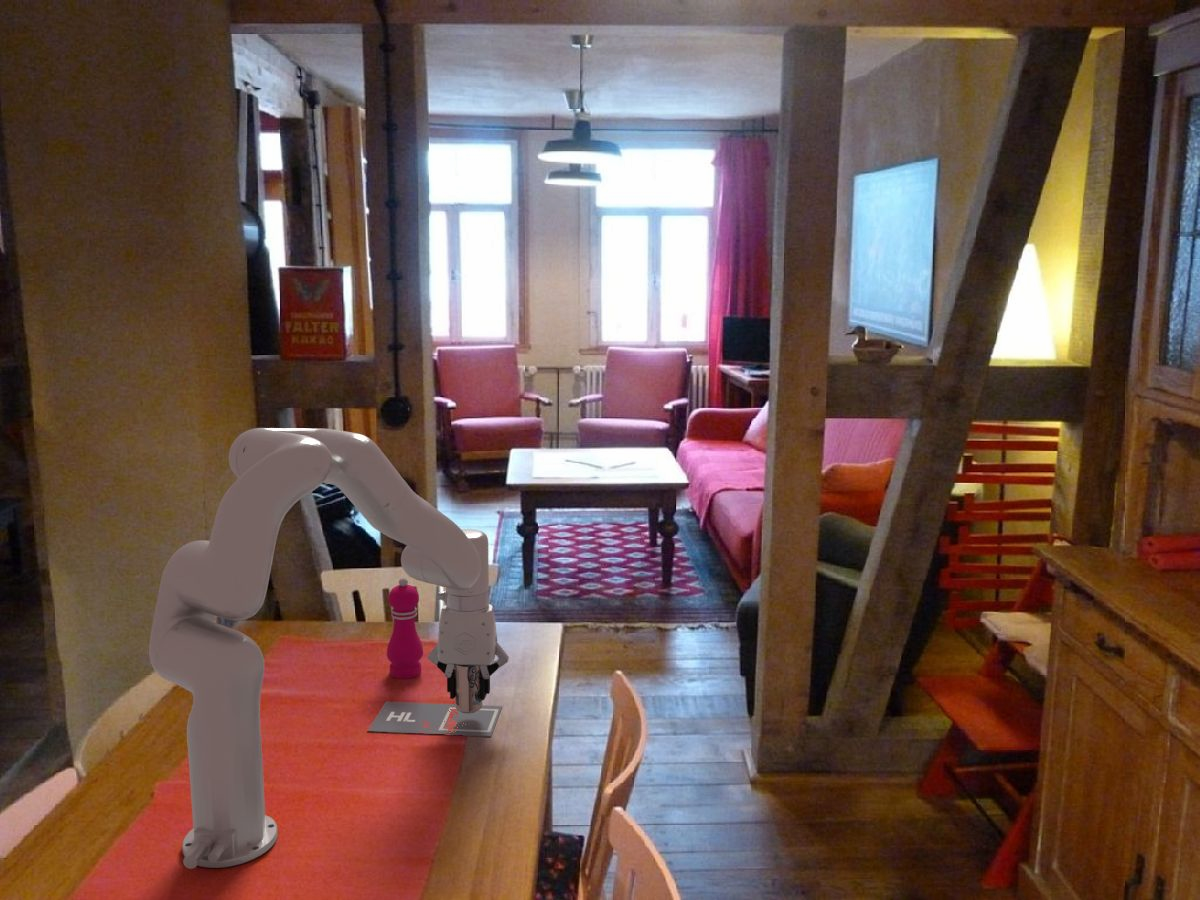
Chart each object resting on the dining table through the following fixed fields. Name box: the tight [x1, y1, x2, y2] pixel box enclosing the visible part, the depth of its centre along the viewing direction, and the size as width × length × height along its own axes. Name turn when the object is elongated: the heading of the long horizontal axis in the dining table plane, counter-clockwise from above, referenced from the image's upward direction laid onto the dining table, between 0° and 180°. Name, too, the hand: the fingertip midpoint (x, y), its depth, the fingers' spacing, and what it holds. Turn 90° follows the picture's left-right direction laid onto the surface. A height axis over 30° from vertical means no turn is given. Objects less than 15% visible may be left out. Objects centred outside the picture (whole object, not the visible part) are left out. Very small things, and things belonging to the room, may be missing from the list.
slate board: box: [366, 701, 503, 738], centre depth 178 cm, size 12×22×1 cm, turn 86°
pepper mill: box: [386, 577, 424, 680], centre depth 196 cm, size 7×7×20 cm
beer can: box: [454, 665, 483, 713], centre depth 176 cm, size 5×5×12 cm
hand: (468, 695), depth 176 cm, fingers closed on beer can, 4 cm apart
